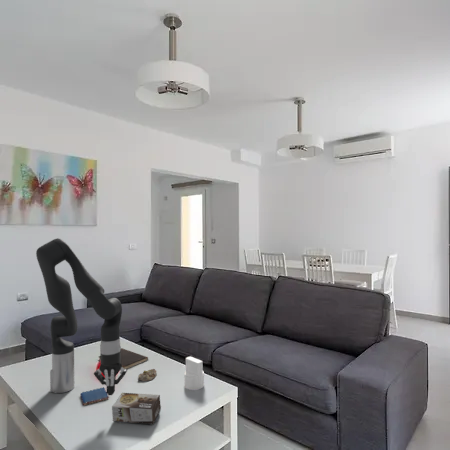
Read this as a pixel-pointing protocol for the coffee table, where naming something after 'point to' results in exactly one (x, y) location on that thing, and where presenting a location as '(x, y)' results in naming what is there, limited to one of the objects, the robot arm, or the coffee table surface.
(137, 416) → the coffee box
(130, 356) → the hardcover book
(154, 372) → the mineral rock
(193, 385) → the cylinder with rectangular tab
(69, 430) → the coffee table surface
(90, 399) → the woven mat
